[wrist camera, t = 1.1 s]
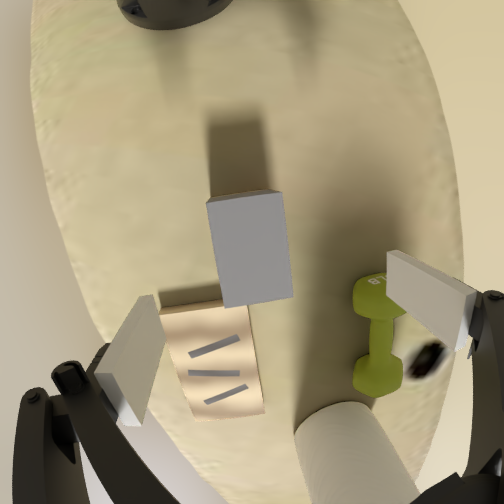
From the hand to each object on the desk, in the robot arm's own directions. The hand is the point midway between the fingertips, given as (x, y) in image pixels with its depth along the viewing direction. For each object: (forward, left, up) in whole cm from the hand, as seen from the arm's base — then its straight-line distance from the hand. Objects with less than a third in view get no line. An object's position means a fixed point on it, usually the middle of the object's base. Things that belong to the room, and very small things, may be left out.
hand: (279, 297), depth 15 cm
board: (+16, -7, -16) cm, 24 cm away
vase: (+35, +9, -17) cm, 40 cm away
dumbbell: (+15, +14, -17) cm, 27 cm away
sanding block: (0, -1, -17) cm, 17 cm away
